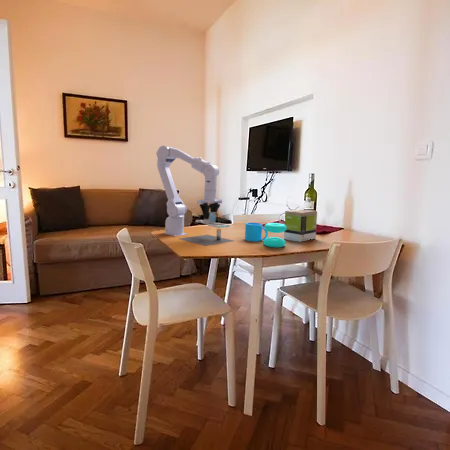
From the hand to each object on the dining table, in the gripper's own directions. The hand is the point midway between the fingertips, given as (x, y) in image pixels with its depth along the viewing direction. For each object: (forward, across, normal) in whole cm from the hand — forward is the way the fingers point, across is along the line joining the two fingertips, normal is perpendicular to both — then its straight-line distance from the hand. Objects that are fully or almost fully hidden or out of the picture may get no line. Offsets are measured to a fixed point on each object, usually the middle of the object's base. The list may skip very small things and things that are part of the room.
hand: (209, 218), depth 164 cm
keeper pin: (+9, +1, -6) cm, 11 cm away
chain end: (+3, 0, 0) cm, 3 cm away
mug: (+10, +16, -17) cm, 25 cm away
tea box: (+10, +39, -27) cm, 48 cm away
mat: (+10, -4, -3) cm, 11 cm away
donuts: (+10, +14, -29) cm, 34 cm away
